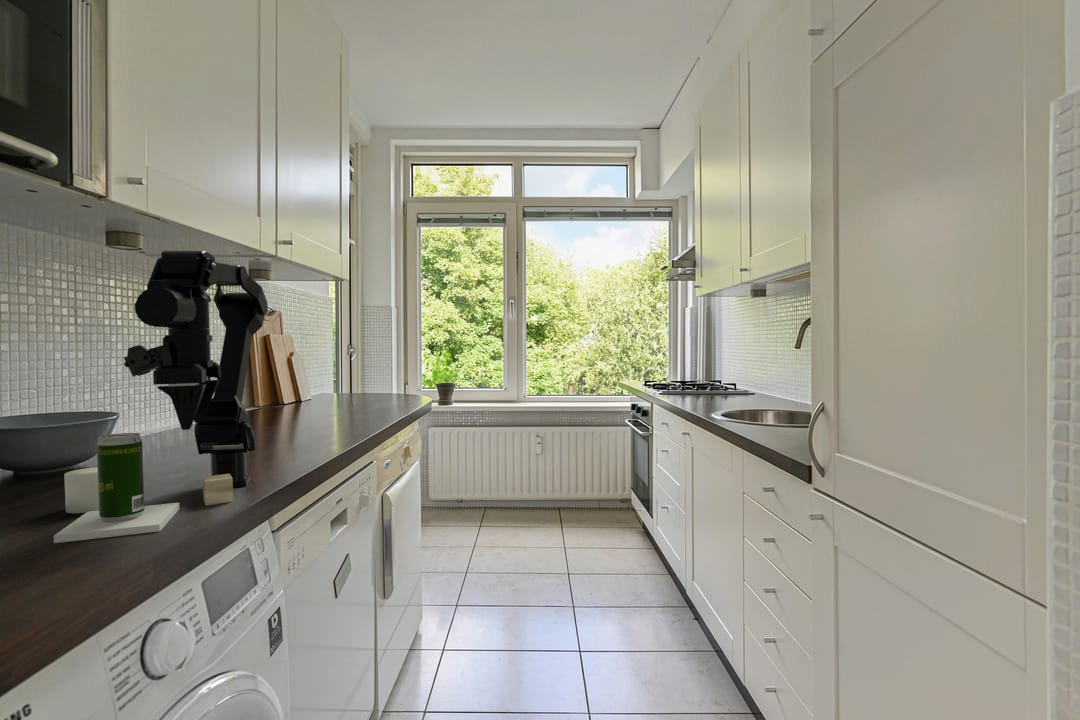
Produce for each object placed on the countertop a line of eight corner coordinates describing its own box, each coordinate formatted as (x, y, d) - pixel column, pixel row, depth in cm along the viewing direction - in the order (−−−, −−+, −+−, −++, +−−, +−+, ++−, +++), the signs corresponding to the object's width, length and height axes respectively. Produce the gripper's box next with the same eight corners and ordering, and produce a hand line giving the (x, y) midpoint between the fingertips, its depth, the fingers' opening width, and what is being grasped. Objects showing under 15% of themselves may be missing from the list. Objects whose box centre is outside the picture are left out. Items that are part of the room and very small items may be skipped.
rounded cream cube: (74, 505, 95) (73, 469, 95) (118, 501, 97) (116, 465, 97) (59, 515, 90) (57, 476, 89) (105, 510, 92) (104, 473, 92)
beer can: (152, 511, 87) (149, 432, 87) (131, 521, 82) (128, 437, 81) (114, 512, 87) (111, 433, 86) (90, 523, 81) (87, 439, 81)
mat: (88, 518, 88) (88, 511, 88) (179, 508, 92) (179, 502, 92) (53, 543, 76) (53, 535, 76) (159, 531, 81) (159, 524, 81)
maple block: (203, 500, 97) (202, 477, 97) (230, 496, 99) (229, 473, 99) (205, 506, 94) (204, 481, 94) (233, 501, 96) (232, 477, 96)
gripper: (146, 331, 99) (150, 422, 99) (108, 327, 81) (113, 438, 82) (220, 330, 102) (223, 418, 103) (199, 327, 85) (203, 432, 85)
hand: (192, 425), depth 93 cm, fingers open, 9 cm apart
